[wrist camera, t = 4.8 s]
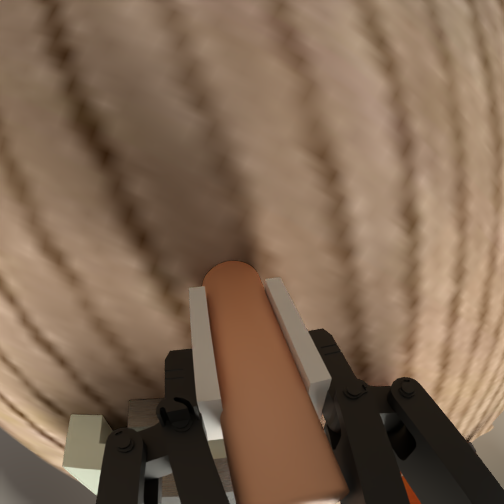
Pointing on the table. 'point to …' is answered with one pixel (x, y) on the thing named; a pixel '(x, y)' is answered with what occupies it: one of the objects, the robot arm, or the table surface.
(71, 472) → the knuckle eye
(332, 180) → the table surface
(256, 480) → the pin
